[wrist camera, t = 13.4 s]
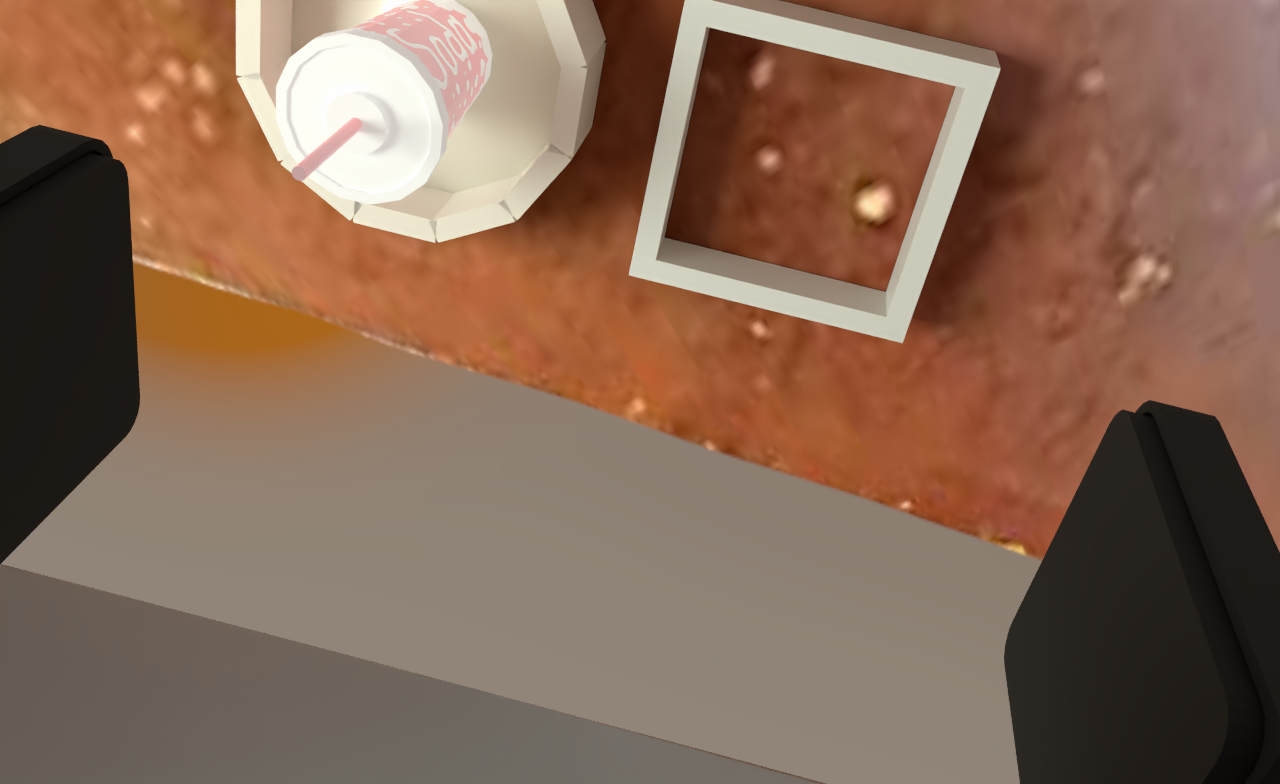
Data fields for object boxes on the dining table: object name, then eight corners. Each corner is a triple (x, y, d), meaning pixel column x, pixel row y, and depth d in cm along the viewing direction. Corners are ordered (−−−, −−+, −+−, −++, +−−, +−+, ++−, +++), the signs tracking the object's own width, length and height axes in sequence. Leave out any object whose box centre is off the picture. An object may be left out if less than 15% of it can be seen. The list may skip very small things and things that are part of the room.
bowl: (629, -91, 45) (610, -73, 42) (573, 235, 53) (553, 272, 50) (280, -172, 46) (235, -161, 43) (274, 162, 53) (236, 193, 50)
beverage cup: (535, 95, 49) (427, 229, 37) (411, 144, 51) (271, 286, 39) (468, -50, 46) (329, 46, 34) (340, 8, 48) (168, 117, 37)
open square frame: (995, 51, 46) (1000, 68, 44) (901, 317, 52) (902, 343, 50) (694, -20, 46) (686, -6, 44) (638, 252, 53) (628, 275, 51)
